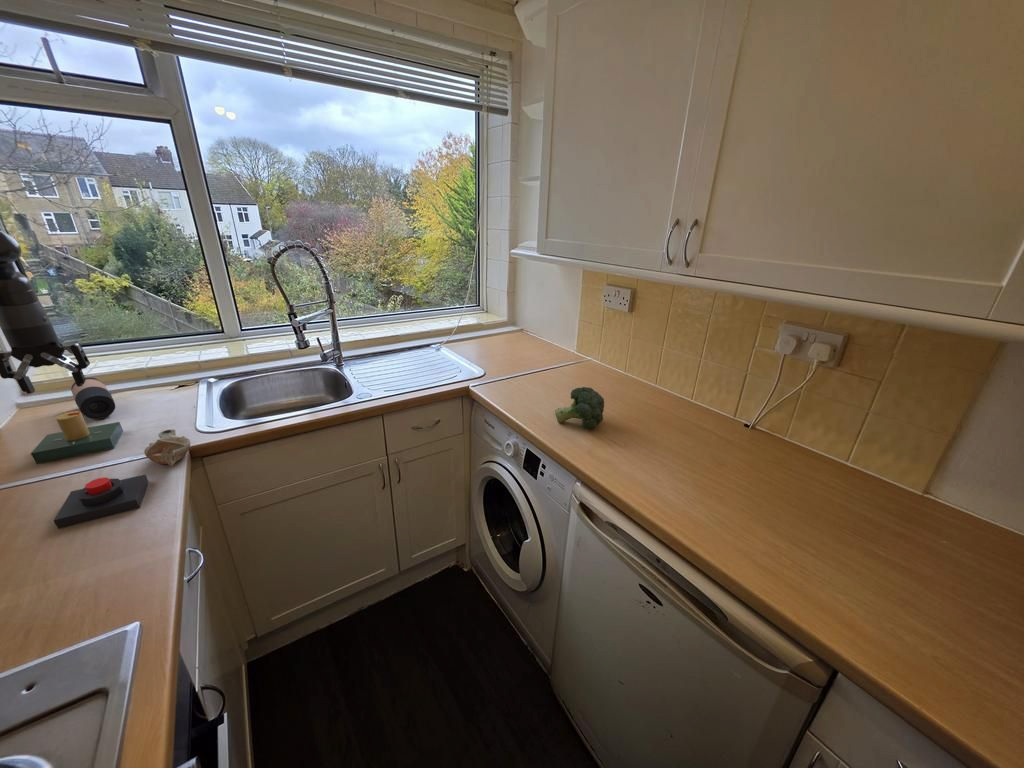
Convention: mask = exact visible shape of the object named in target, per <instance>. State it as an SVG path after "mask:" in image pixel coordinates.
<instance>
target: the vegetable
mask: <svg viewBox="0 0 1024 768" xmlns="http://www.w3.org/2000/svg"><path fill="white" fill-rule="evenodd" d="M570 399H571V400H573V401H572V403H571V404H570V406H566V407H565V406H564V407H562V408H559V407H558V408H556V409H554V414H555V415H554V416H555V418H556V421H557V422H558V423H559V424H560V423H565V422H566V421H568V420H570V419H578V420H581V427H582V429H584V430H589V431H593V430H594V429H595V428H596V426H598V425H599V424H601V423H602V422H603V420H604V414H603V413H604V410H605V399H604V398H603V396H602V395H601V394H599V391H596V390H594V388H593V387H588V386H582V387H575V388H574V389H572V390H571V392H570Z"/></svg>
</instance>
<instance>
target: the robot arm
mask: <svg viewBox="0 0 1024 768" xmlns="http://www.w3.org/2000/svg"><path fill="white" fill-rule="evenodd" d="M21 255H22V247H21V245H20V243H19V242H18V241H17V240H16V239H15V237H13V236H12V235H10V233H9V234H8V233H6V231H3V230H1V229H0V330H1V333H3V336H4V337H5V340H6V342H7V344H8V346H9V347H10V350H8V351H7V350H6V351H4V350H1V349H0V377H1V379H4V380H6V379H13V380H15V381H16V382H17V384H18V386H19V388H20V390H21V391H22V392H23V393H26V394H27V395H30V394H33V393H34V392H36V389H35V387H34V385H33V383H32V380H31V379H30V377H29V376H28V375H27V374H28V372H29V370H30V369H31V368H41V367H51V366H54V365H57V366H59V367H60V368H64V369H66V370H68V371H70V372H71V373H70V374H71V376H72V378H73V380H74V383H76V385H77V386H78V387H79V386H83V384H84V383H85V382H86V379H85V378H86V377H85V374H84V372H83V370H84V369H87V368H88V367H89V366H90V364H91V362H90V360H89V358H88V356H87V354H86V351H84V348H83V347H82V345H81V343H80V342H73V343H72V344H62V343H61V342H60V340H59V337H58V335H57V333H56V331H55V329H54V327H53V324H52V322H51V320H50V317H49V315H48V313H47V311H46V309H45V308H44V306H43V304H42V303H41V301H40V299H39V296H38V295H37V291H36V290H35V288H34V285H33V284H32V282H31V280H29V278H28V277H27V276H25V275H24V274H22V273H21V271H20V269H19V268H18V265H17V264H16V261H17V260H19V259H20V257H21ZM65 351H67V352H68V353H69V354H71V355H73V356H74V358H75V360H76V361H77V362H75V361H73V360H72V358H70V357H68V356H66V355H64V354H65ZM11 358H14V359H15V360H18V361H20V363H19V366H18V367H17V368H16V371H15V370H13V368H12V366H11V363H10V360H11Z"/></svg>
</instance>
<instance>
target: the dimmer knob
mask: <svg viewBox="0 0 1024 768" xmlns="http://www.w3.org/2000/svg"><path fill="white" fill-rule="evenodd" d="M83 416H84V415H83V414H82V412H81V411H80V410H75V411H68V412H65V413H62V414H59V415H57V416H56V417H55V420H56V423H57V424H58V427H59V429H60V432H62V433H63V435H64V437H65V439H66V440H68V441H72V440H78V439H81V438H84V437H86V436H88V435H89V434H90V432H89V429H88V427H89V426H88V425H87V422H86V421H85V418H84V417H83Z"/></svg>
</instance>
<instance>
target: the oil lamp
mask: <svg viewBox="0 0 1024 768" xmlns="http://www.w3.org/2000/svg"><path fill="white" fill-rule="evenodd" d="M158 437H159V439H157V440H156V441H155V442H150V443H149V444H148V446H147V447H145V449H144V451H143V452H144V456H145V457H146V458H147V459H149V460H150V461H152V462H154V463H156V464H160V465H168V466H169V467H173V466H174V465H175V463H176V462H179V461H180V460H182V459H183V458H184V457H185V456H186V455H187V453H188V452H189V451H190V448H191V440H190V439H189V438H188V437H185V435H182V436H177V434H176V429H166V430H163V431H160V432H159V433H158Z"/></svg>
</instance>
